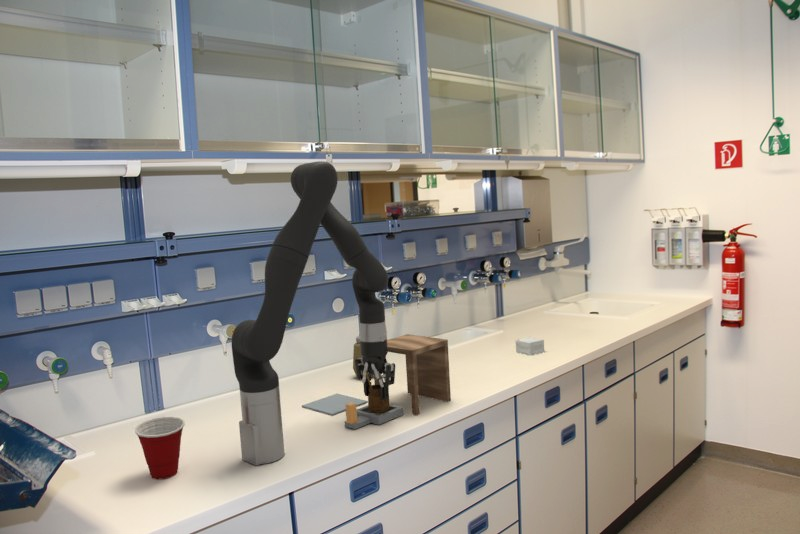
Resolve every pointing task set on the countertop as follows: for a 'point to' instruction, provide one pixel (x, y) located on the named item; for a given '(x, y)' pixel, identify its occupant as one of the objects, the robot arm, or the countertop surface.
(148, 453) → the plastic cup
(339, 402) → the slate mat
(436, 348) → the walnut shelf
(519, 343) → the small box
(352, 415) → the sliding frame
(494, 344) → the countertop surface
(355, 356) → the squeeze bottle
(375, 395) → the utensil holder
